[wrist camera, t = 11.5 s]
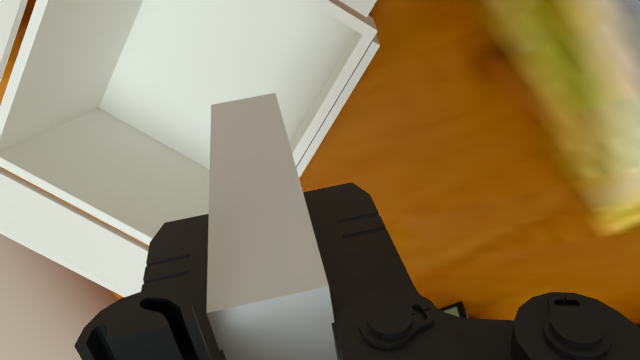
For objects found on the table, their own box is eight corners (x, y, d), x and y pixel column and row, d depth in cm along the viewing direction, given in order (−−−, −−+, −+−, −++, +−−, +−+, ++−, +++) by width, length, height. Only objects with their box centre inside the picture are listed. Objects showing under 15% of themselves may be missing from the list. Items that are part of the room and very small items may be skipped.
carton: (205, -162, 31) (117, -247, 20) (408, -31, 33) (433, -42, 22) (76, 148, 39) (-39, 213, 28) (246, 241, 41) (202, 337, 30)
